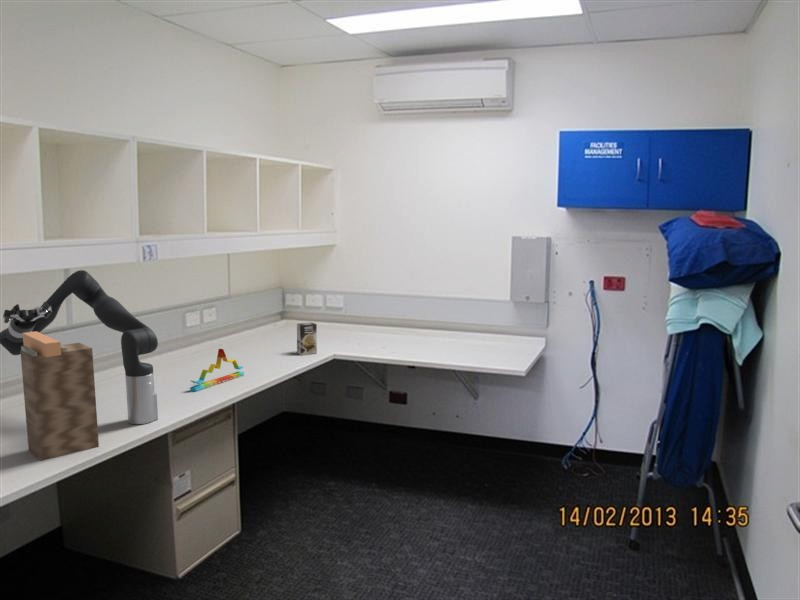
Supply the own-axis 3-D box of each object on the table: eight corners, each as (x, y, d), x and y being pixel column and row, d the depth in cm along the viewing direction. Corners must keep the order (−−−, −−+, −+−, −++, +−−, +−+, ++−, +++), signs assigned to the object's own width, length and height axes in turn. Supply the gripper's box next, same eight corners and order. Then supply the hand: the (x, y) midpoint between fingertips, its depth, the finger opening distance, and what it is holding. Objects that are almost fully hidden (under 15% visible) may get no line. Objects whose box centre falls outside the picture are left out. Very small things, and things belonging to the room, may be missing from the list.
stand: (85, 437, 213) (78, 339, 209) (98, 446, 205) (91, 344, 200) (28, 450, 202) (20, 346, 197) (40, 460, 193) (31, 352, 189)
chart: (196, 392, 267) (194, 357, 265) (190, 391, 269) (188, 356, 267) (244, 376, 294) (243, 343, 292) (239, 375, 296) (237, 343, 294)
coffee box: (301, 355, 335) (300, 325, 333) (296, 353, 340) (296, 323, 338) (317, 353, 339) (316, 323, 337) (313, 351, 345) (312, 321, 343)
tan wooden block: (37, 343, 208) (36, 331, 207) (61, 355, 191) (60, 341, 190) (23, 345, 205) (22, 332, 205) (46, 357, 188) (45, 343, 188)
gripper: (-3, 316, 223) (6, 297, 212) (42, 312, 233) (52, 293, 222) (1, 336, 222) (10, 318, 211) (46, 331, 232) (57, 313, 221)
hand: (32, 305), depth 217 cm, fingers open, 8 cm apart
